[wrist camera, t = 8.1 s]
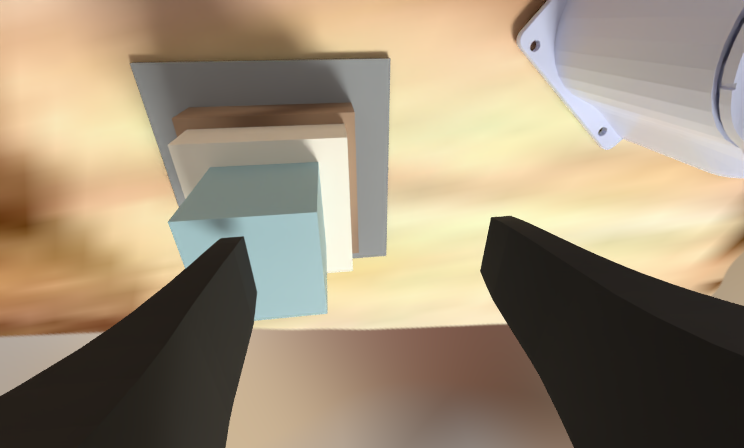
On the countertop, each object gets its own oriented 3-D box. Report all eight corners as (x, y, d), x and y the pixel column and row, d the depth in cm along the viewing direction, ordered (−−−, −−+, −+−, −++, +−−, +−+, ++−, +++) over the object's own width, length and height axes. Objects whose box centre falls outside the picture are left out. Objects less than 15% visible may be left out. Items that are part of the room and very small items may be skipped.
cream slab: (344, 123, 16) (347, 137, 14) (350, 246, 19) (353, 270, 17) (186, 129, 15) (167, 145, 13) (223, 256, 19) (212, 282, 17)
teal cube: (318, 161, 14) (317, 212, 10) (326, 247, 16) (327, 313, 13) (209, 167, 14) (167, 221, 10) (233, 254, 16) (206, 325, 12)
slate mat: (389, 58, 17) (390, 58, 17) (385, 253, 23) (386, 255, 23) (132, 62, 16) (129, 63, 15) (202, 267, 22) (200, 270, 21)
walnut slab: (351, 102, 17) (354, 112, 15) (355, 232, 22) (358, 253, 20) (188, 107, 17) (171, 118, 15) (225, 242, 21) (216, 264, 19)
